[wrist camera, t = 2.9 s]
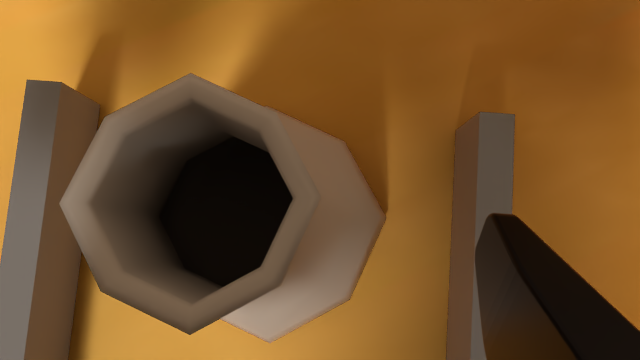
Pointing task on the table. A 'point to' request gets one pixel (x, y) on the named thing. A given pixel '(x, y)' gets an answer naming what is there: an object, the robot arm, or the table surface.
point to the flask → (221, 212)
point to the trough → (65, 254)
